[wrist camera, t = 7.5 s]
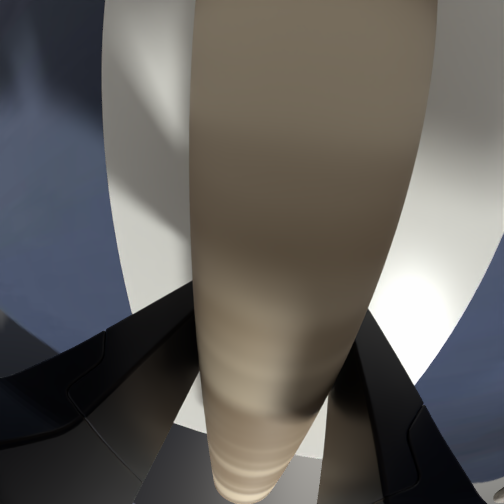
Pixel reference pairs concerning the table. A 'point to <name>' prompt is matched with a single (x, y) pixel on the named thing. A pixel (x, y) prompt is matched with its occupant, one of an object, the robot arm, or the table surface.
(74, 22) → the table surface
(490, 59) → the cutting board
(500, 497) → the washcloth
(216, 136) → the beech dowel
